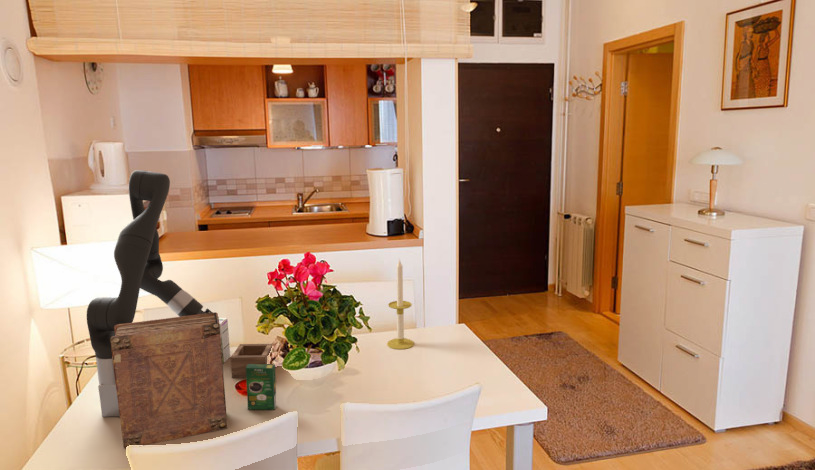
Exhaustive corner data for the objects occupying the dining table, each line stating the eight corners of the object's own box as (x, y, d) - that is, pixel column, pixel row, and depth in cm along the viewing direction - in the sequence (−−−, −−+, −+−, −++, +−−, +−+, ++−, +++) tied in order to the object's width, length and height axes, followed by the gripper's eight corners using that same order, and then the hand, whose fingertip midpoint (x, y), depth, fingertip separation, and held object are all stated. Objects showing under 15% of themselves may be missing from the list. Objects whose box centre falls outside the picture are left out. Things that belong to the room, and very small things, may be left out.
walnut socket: (266, 377, 177) (265, 357, 176) (232, 377, 177) (230, 357, 176) (273, 362, 188) (272, 343, 187) (241, 363, 188) (240, 344, 187)
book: (122, 449, 139) (108, 337, 133) (126, 431, 147) (113, 324, 141) (228, 428, 148) (219, 322, 142) (225, 412, 156) (217, 311, 150)
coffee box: (278, 405, 160) (275, 363, 157) (275, 410, 157) (273, 367, 154) (250, 405, 160) (247, 363, 157) (247, 410, 157) (244, 367, 154)
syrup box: (231, 356, 194) (228, 317, 191) (224, 363, 188) (220, 323, 185) (215, 355, 194) (212, 316, 192) (208, 362, 189) (204, 322, 186)
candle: (402, 336, 210) (401, 254, 204) (419, 344, 203) (419, 259, 196) (381, 343, 204) (379, 258, 197) (398, 351, 196) (397, 263, 190)
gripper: (184, 305, 180) (222, 337, 182) (199, 291, 194) (234, 322, 196) (169, 320, 181) (207, 352, 183) (185, 306, 195) (220, 336, 197)
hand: (221, 336), depth 190 cm, fingers open, 8 cm apart
